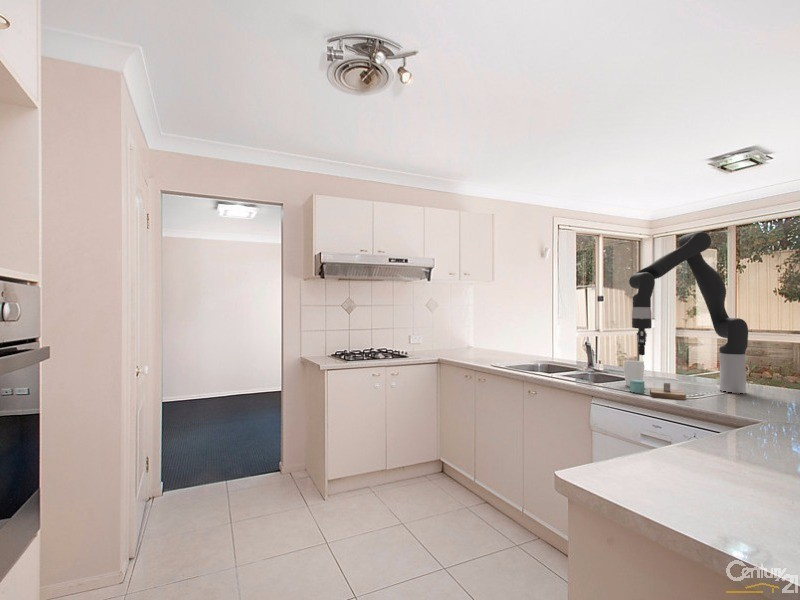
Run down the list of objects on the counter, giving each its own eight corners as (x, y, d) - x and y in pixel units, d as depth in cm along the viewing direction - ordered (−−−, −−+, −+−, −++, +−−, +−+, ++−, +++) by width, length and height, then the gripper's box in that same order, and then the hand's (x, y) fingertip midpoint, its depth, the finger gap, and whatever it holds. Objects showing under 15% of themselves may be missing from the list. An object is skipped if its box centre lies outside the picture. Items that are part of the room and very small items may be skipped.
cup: (648, 387, 197) (648, 362, 197) (629, 387, 197) (629, 362, 197) (637, 384, 206) (637, 360, 206) (619, 384, 206) (619, 359, 206)
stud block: (649, 392, 185) (649, 379, 186) (682, 394, 180) (682, 382, 180) (651, 397, 175) (651, 383, 175) (685, 400, 169) (685, 386, 169)
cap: (629, 390, 190) (629, 379, 190) (644, 391, 187) (644, 380, 187) (630, 392, 185) (629, 381, 185) (644, 393, 182) (644, 382, 182)
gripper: (632, 317, 193) (631, 352, 192) (631, 317, 180) (631, 355, 180) (650, 317, 189) (650, 353, 188) (652, 317, 176) (652, 356, 176)
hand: (641, 354), depth 184 cm, fingers open, 8 cm apart
